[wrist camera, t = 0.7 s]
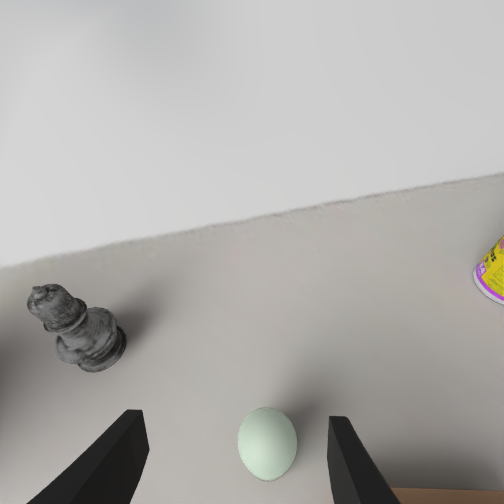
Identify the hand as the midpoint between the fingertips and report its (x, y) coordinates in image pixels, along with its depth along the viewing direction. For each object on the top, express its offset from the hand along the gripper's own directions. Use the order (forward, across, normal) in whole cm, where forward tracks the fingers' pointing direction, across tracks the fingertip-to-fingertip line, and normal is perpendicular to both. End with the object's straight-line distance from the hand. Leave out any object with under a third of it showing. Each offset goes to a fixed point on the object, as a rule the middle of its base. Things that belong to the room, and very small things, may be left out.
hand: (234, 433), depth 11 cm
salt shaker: (+17, +17, +9) cm, 26 cm away
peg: (+10, -1, +14) cm, 17 cm away
